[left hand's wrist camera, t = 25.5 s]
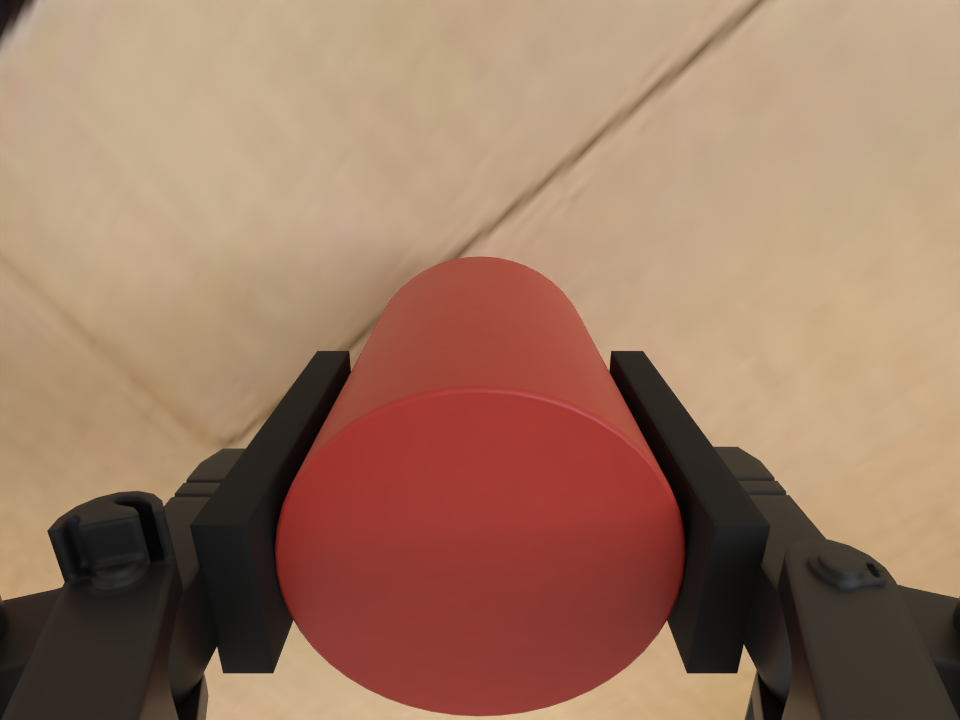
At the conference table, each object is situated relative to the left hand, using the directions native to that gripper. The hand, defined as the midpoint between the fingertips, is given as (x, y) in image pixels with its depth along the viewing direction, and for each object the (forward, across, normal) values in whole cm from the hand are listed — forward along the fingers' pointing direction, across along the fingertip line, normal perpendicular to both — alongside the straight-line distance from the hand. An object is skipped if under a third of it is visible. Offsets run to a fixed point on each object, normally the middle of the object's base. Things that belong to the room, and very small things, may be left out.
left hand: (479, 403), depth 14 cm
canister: (+3, 0, 0) cm, 3 cm away
